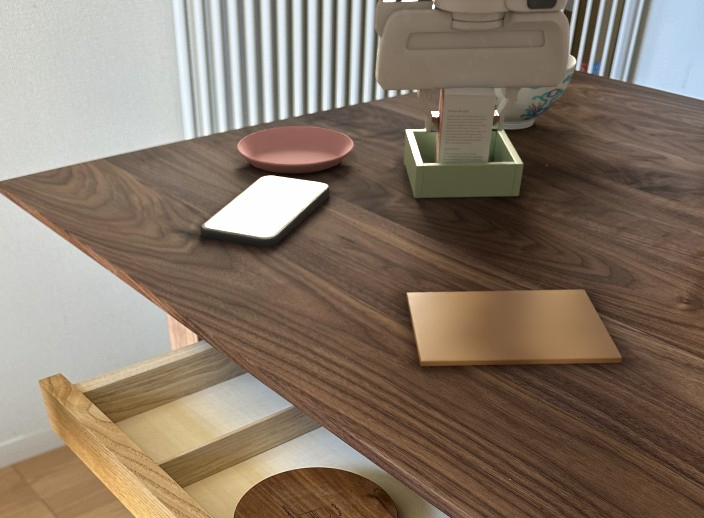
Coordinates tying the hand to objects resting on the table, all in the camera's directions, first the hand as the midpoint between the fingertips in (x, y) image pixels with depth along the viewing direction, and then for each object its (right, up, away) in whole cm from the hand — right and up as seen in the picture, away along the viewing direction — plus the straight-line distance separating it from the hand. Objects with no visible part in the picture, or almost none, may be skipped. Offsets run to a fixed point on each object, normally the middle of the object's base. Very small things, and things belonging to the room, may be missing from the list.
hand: (463, 130), depth 95 cm
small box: (0, -4, +4) cm, 6 cm away
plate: (-19, +1, +10) cm, 21 cm away
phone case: (-22, -11, -3) cm, 25 cm away
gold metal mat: (-1, -28, -23) cm, 36 cm away
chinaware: (+10, +11, +20) cm, 25 cm away
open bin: (0, -4, +4) cm, 6 cm away
